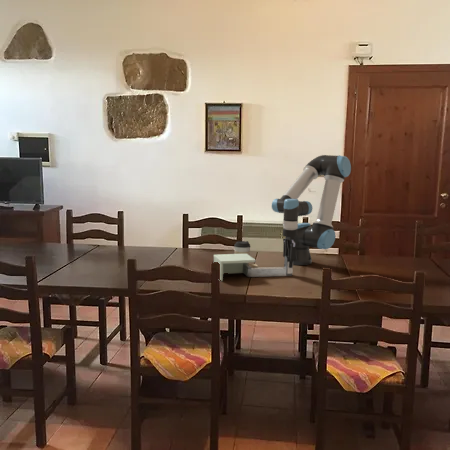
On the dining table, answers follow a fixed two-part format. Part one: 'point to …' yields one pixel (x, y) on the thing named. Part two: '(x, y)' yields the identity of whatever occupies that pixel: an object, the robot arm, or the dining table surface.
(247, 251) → the coffee cup
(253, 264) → the block
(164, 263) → the dining table surface
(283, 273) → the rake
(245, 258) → the shelf nook
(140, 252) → the dining table surface
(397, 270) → the dining table surface
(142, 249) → the dining table surface
